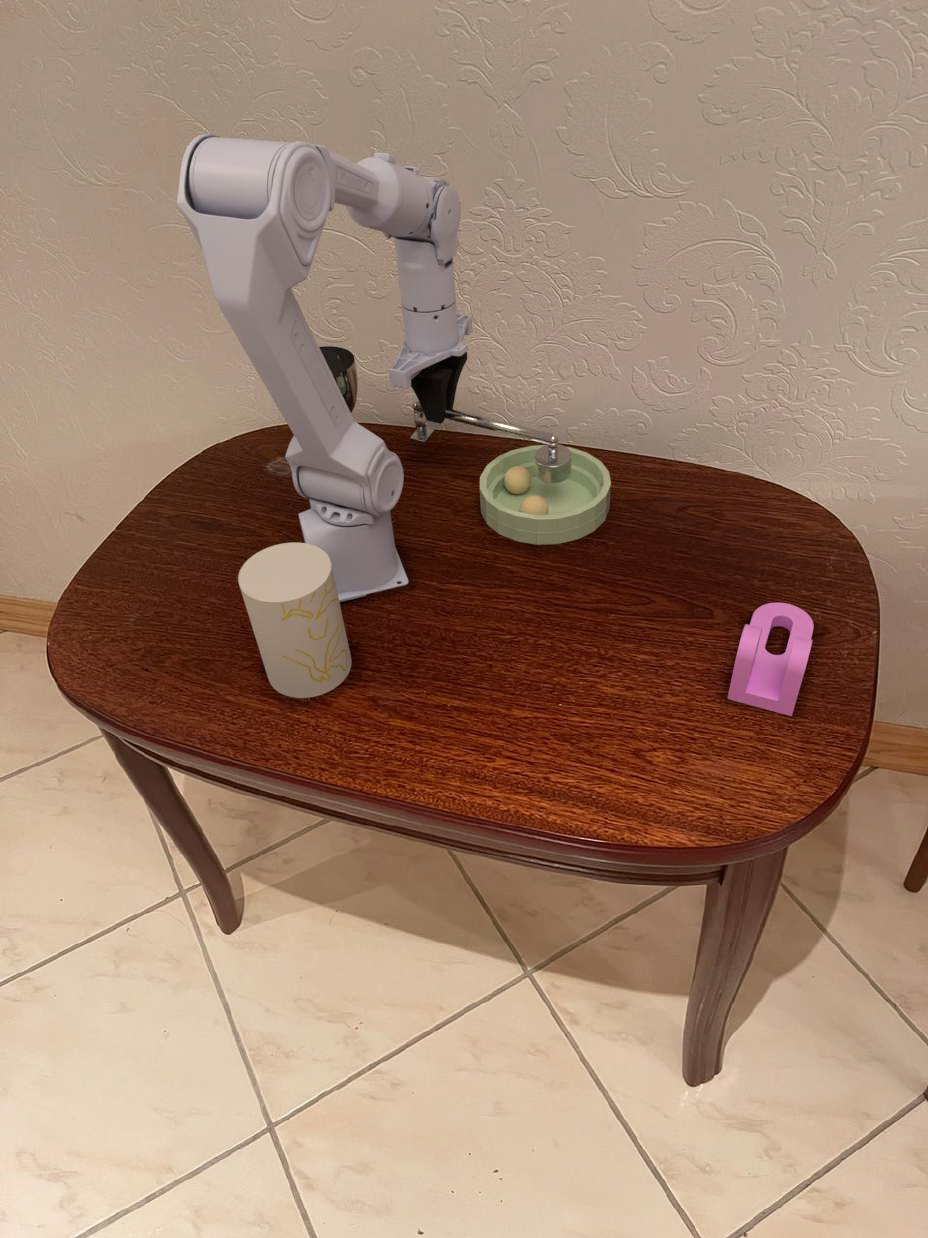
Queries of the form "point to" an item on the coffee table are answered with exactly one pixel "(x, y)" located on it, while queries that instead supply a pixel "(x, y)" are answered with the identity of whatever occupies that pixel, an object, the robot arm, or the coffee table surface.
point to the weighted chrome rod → (548, 459)
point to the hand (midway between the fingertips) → (438, 417)
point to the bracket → (772, 659)
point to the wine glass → (343, 372)
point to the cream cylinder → (296, 618)
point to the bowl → (546, 499)
